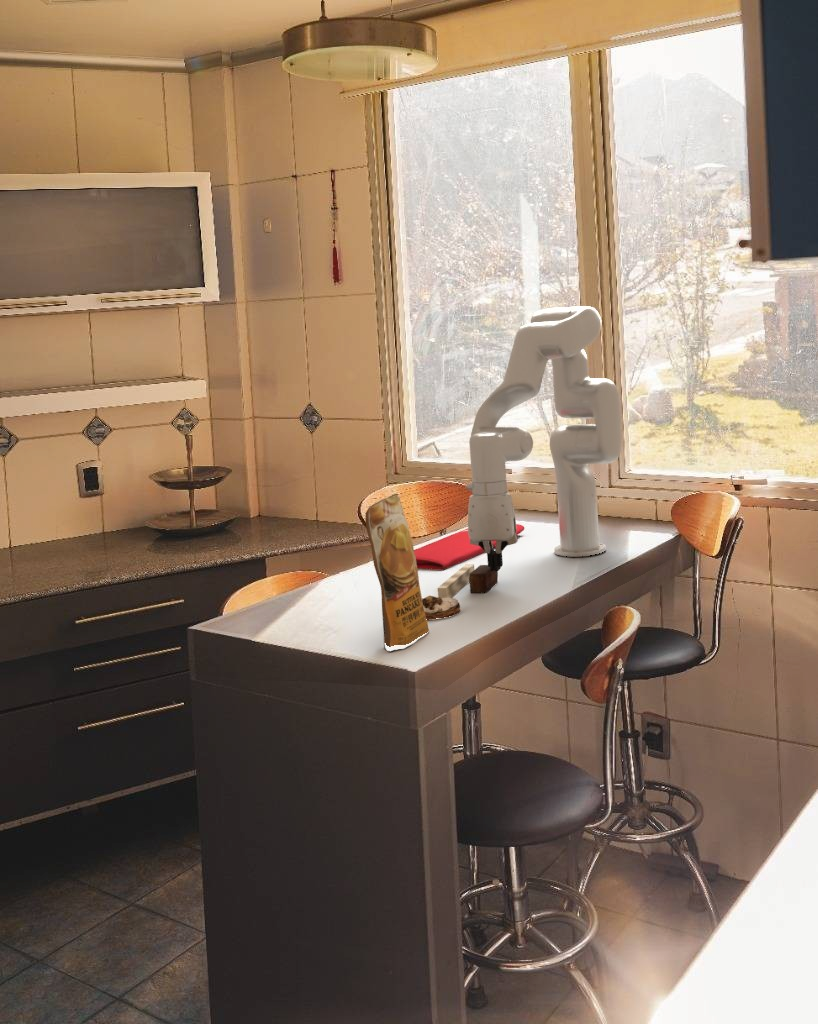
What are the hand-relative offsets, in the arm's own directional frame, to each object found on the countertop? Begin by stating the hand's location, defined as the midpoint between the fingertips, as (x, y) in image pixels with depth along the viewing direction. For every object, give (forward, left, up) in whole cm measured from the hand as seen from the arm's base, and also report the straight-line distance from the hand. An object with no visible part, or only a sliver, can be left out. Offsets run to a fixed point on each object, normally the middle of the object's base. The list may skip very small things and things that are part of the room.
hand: (495, 569), depth 268 cm
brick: (0, -3, -5) cm, 6 cm away
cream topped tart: (+21, -9, -5) cm, 23 cm away
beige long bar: (+1, -9, -4) cm, 10 cm away
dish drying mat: (-39, -20, -5) cm, 44 cm away
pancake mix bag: (+41, -8, -4) cm, 42 cm away
